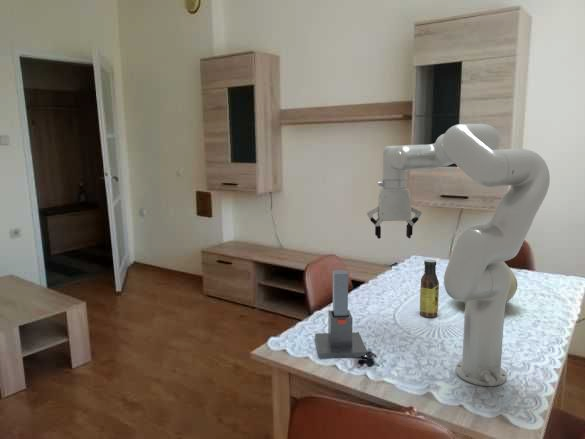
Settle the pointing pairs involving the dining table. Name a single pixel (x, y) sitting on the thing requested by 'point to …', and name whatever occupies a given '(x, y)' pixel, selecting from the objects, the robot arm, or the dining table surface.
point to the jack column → (340, 293)
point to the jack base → (339, 339)
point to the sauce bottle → (429, 290)
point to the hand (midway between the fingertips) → (393, 237)
